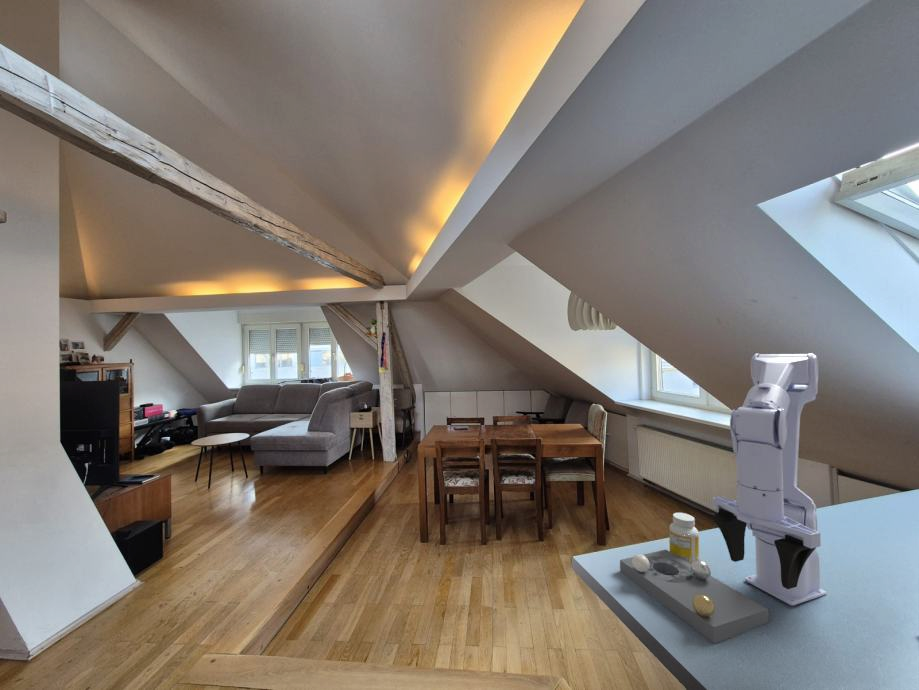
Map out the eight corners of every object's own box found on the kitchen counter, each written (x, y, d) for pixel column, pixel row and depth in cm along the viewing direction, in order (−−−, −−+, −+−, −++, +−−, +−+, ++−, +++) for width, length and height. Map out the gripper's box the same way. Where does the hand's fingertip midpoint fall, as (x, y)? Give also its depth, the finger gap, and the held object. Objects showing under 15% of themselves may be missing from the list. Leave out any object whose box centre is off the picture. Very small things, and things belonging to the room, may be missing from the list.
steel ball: (698, 579, 72) (710, 586, 68) (683, 568, 72) (694, 575, 69) (706, 564, 72) (718, 570, 69) (692, 553, 73) (702, 559, 69)
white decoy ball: (641, 565, 75) (640, 549, 75) (653, 573, 72) (653, 557, 72) (628, 568, 74) (628, 552, 74) (640, 576, 71) (640, 560, 71)
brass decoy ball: (701, 606, 63) (701, 588, 63) (719, 618, 60) (719, 599, 60) (688, 611, 62) (687, 592, 62) (705, 623, 59) (704, 603, 59)
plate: (666, 561, 81) (665, 549, 81) (768, 624, 62) (768, 609, 62) (620, 572, 77) (619, 559, 77) (714, 643, 58) (713, 627, 58)
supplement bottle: (681, 570, 77) (680, 523, 78) (663, 556, 83) (663, 512, 83) (705, 568, 78) (704, 521, 78) (686, 554, 83) (685, 510, 84)
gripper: (698, 473, 65) (700, 553, 65) (795, 505, 52) (798, 607, 51) (727, 469, 68) (730, 546, 67) (829, 498, 54) (832, 596, 54)
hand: (761, 572), depth 59 cm, fingers open, 7 cm apart
